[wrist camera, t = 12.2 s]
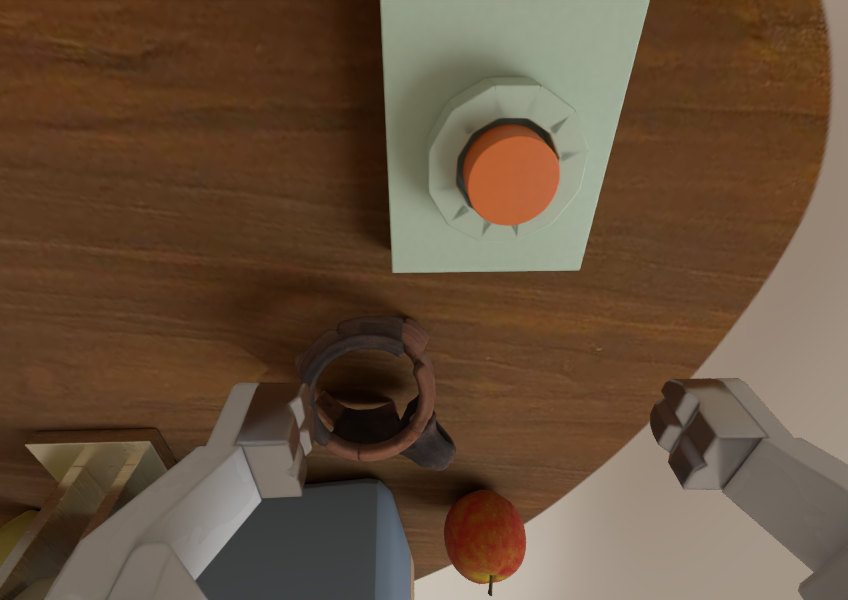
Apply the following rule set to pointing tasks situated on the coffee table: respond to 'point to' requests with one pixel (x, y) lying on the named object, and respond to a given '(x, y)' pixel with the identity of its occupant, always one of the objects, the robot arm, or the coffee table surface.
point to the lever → (37, 589)
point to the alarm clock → (317, 548)
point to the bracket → (81, 495)
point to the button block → (499, 120)
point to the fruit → (485, 537)
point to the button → (510, 174)
